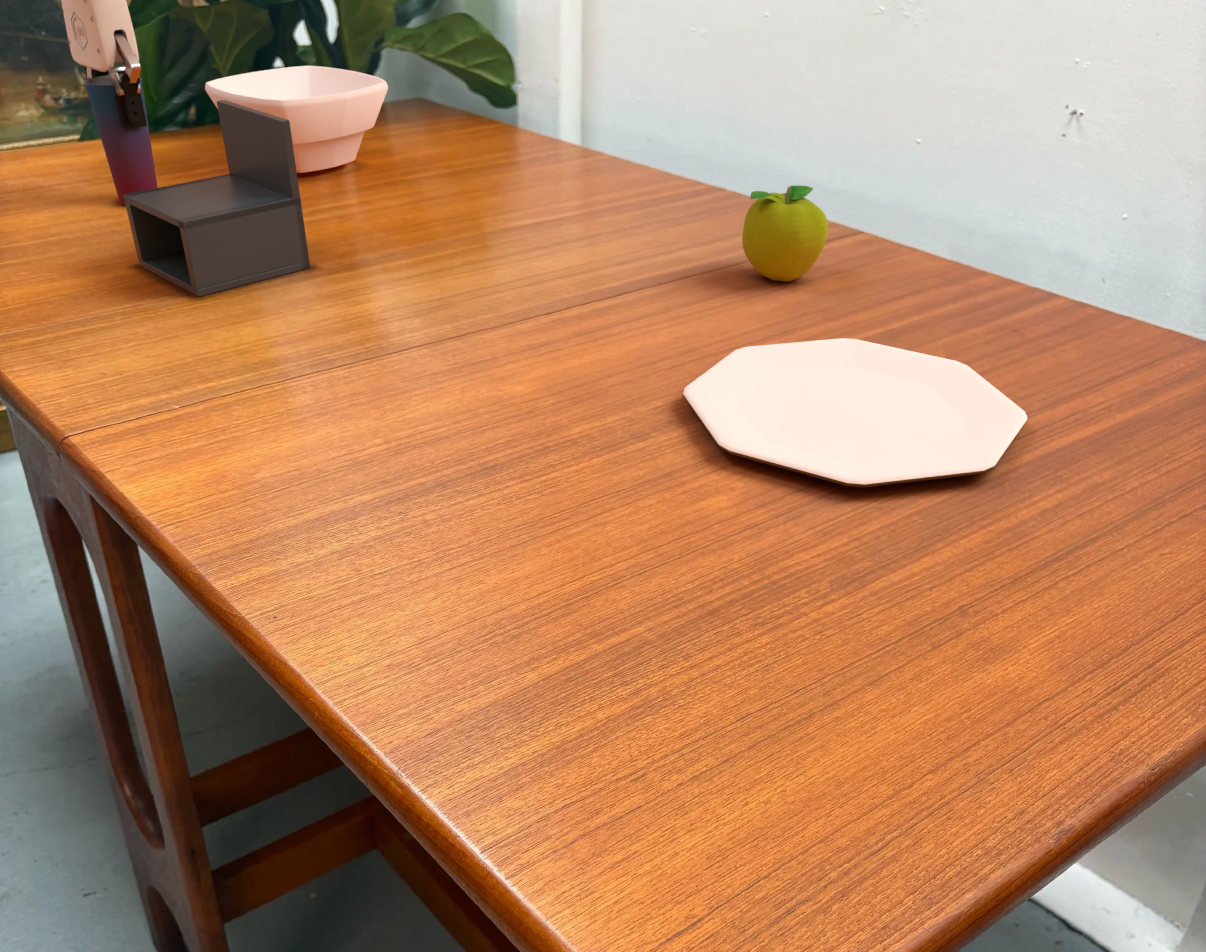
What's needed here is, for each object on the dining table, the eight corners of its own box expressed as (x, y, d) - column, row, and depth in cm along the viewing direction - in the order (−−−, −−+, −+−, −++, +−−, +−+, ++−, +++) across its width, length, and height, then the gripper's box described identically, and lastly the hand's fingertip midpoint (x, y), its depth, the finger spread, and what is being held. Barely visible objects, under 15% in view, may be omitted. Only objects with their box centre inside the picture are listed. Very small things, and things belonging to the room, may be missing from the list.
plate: (655, 368, 108) (656, 353, 107) (922, 344, 113) (925, 330, 112) (754, 512, 86) (755, 495, 85) (1079, 474, 91) (1084, 457, 90)
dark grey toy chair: (198, 297, 123) (166, 141, 113) (139, 265, 131) (105, 118, 122) (310, 267, 131) (289, 120, 121) (248, 240, 139) (224, 99, 130)
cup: (157, 208, 150) (130, 85, 141) (105, 208, 150) (75, 84, 141) (172, 194, 155) (148, 74, 147) (122, 193, 155) (95, 74, 147)
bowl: (321, 141, 180) (311, 61, 173) (415, 166, 168) (407, 81, 162) (199, 168, 166) (183, 82, 160) (291, 196, 154) (278, 105, 148)
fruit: (722, 273, 130) (728, 183, 124) (785, 259, 134) (794, 171, 128) (774, 297, 124) (783, 203, 118) (838, 282, 128) (850, 191, 122)
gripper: (27, -40, 139) (65, 116, 150) (87, -27, 129) (124, 139, 140) (87, -44, 144) (120, 108, 154) (149, -32, 134) (181, 130, 144)
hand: (122, 121), depth 147 cm, fingers closed on cup, 6 cm apart
